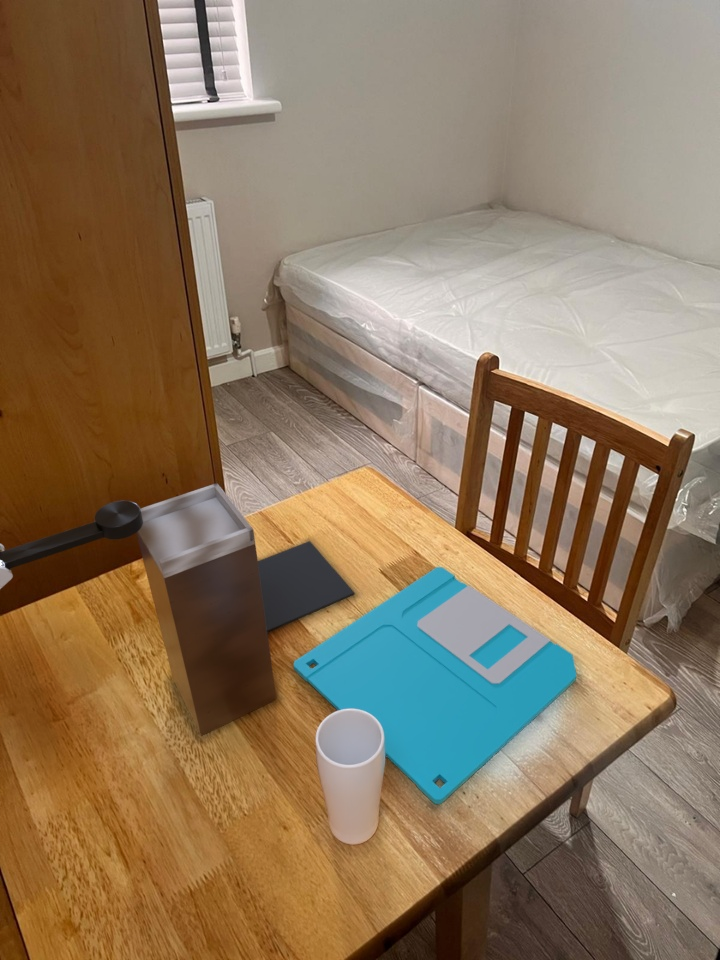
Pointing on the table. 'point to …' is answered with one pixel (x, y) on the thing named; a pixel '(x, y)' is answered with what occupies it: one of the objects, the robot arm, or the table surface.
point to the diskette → (440, 677)
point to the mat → (298, 585)
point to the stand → (208, 604)
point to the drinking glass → (351, 772)
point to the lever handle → (81, 534)
